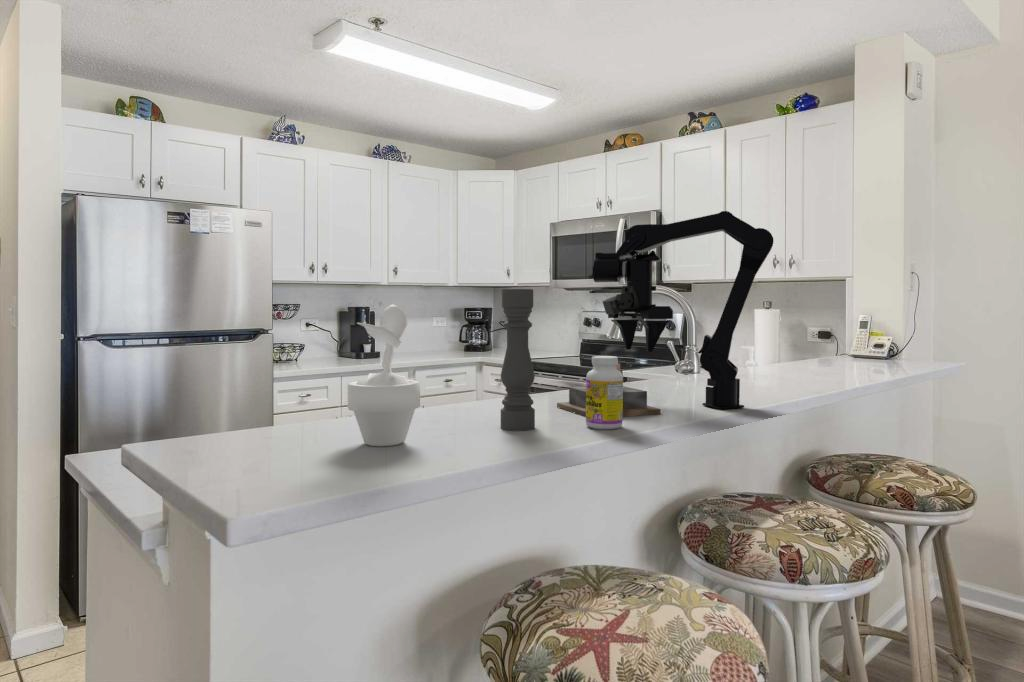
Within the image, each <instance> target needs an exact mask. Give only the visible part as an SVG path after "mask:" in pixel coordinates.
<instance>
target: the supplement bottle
mask: <svg viewBox="0 0 1024 682" xmlns="http://www.w3.org/2000/svg"><path fill="white" fill-rule="evenodd" d="M618 360H619V359H618V356H616V355H614V356H613V355H596V356H594V355H593V356H591V364H592V369H591V370H589V371H588V372H587V374H586V378H585V379H586V380H585V382H586V384H585V385H586V386H585V387H586V417H585V423H586V424H585V425H586V426H587V427H588V428H591V429H594V430H603V431H605V430H616V429H617V430H618V429H620V428H621V427H622V426H623V420H624V419H623V418H624V416H623V386H624V376H623V373H622V372H621V370H620V371H618V370H617V367H616V366H617V363H618V364H619V361H618Z"/></svg>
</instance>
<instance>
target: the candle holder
mask: <svg viewBox="0 0 1024 682" xmlns="http://www.w3.org/2000/svg"><path fill="white" fill-rule="evenodd" d="M501 308H502V310H503V311H502V312H503V313H504V315H505V317H506V320H505V321H504V322H503V324H502V327H503V328H505V331H506V350H505V354H504V359H503V363H502V367H501V372H500V380H501V381H500V382H501V383H502V384H503V386H504V387H505V390H504V391H505V392H506V395H505V396H504V398H503V399H502V401H501V404H502V405H503V407H501V408H500V429H501V430H505V431H511V432H513V431H514V432H517V431H518V432H520V431H521V432H523V431H530V430H534V429H535V428H536V427H535V423H536V418H535V417H536V412H535V410H536V409H535V408H534V407H532V405H534V400H533V399H532V397H531V395H530V394H529V392H531V389H530V388H531V387H532V385H533V383H534V382H535V371H534V366H533V363H532V358H531V357H532V356H531V353H530V348H529V331H530V329H531V328H532V327H533V322H531V321H530V320H529V318H530V316H531V314H532V312H533V310H532V309H533V308H534V289H533V288H531V289H530V288H529V289H528V288H526V289H525V288H508V289H506V288H505V289H501Z"/></svg>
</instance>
